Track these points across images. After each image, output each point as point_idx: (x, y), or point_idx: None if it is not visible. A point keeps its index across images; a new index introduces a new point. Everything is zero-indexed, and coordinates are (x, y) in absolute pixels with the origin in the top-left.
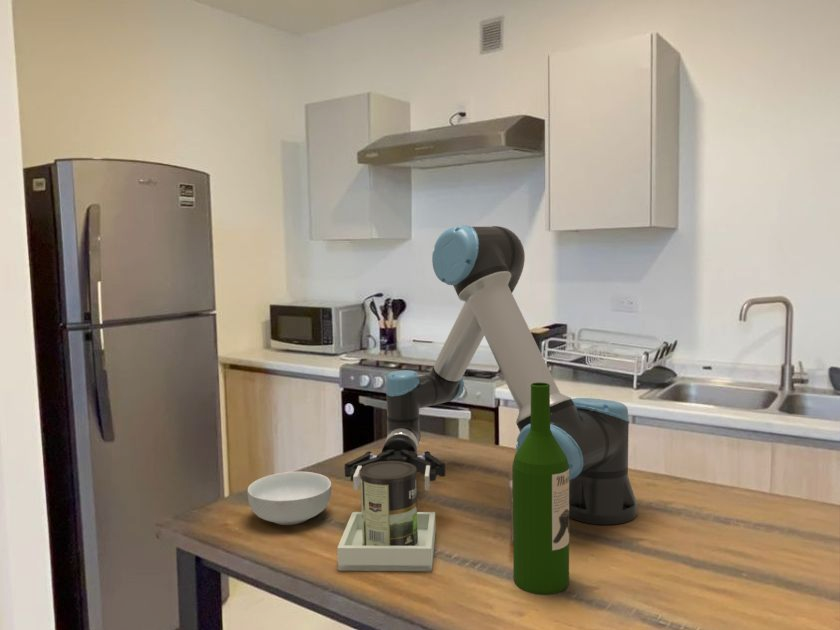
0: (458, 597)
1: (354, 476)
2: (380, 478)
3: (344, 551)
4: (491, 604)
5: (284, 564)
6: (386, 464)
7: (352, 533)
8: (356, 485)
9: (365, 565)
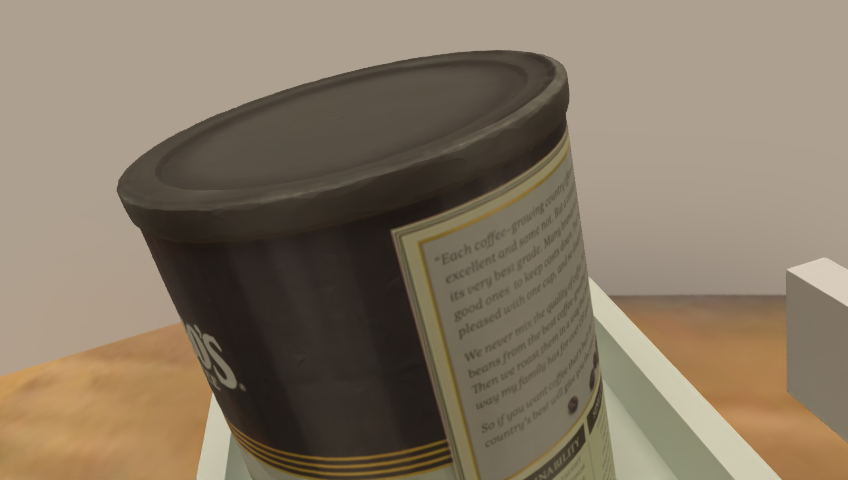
0: (173, 382)
1: (815, 263)
2: (355, 70)
3: None
4: (90, 388)
5: None
6: (390, 147)
7: (695, 471)
8: (795, 349)
9: None
